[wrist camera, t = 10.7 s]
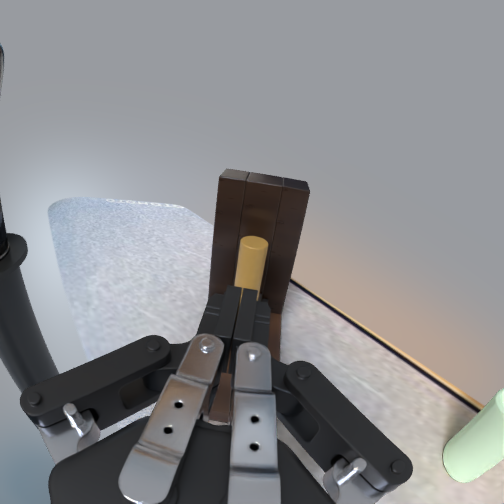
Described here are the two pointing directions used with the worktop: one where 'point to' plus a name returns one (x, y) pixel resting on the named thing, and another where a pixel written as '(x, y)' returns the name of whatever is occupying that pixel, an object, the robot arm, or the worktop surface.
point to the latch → (264, 226)
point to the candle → (477, 443)
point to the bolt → (251, 263)
